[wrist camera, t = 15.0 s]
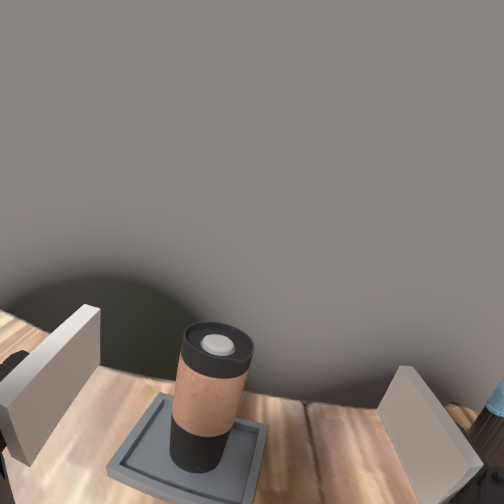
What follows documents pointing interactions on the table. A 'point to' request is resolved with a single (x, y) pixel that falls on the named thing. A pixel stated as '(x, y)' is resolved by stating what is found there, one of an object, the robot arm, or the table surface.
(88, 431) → the table surface
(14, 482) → the table surface
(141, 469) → the slate tray
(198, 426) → the travel mug
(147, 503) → the table surface
